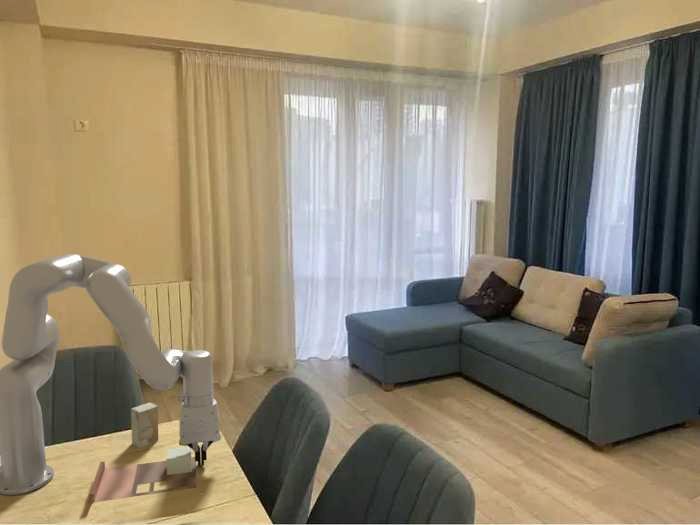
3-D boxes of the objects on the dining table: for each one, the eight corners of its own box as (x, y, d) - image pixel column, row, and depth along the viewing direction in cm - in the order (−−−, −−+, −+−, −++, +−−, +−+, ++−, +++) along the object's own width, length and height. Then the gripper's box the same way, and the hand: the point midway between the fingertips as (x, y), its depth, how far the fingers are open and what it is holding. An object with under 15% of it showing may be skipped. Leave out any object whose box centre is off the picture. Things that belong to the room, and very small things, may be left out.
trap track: (90, 508, 122) (89, 494, 122) (101, 474, 136) (100, 462, 136) (196, 492, 129) (195, 479, 128) (195, 461, 143) (195, 450, 143)
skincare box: (139, 453, 147) (137, 412, 145) (131, 448, 150) (129, 408, 148) (160, 444, 152) (158, 405, 150) (151, 440, 155) (150, 401, 153)
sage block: (167, 475, 134) (166, 459, 133) (168, 465, 138) (167, 449, 138) (191, 471, 135) (190, 455, 135) (191, 462, 140) (190, 446, 139)
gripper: (168, 407, 130) (170, 474, 133) (228, 400, 134) (230, 466, 137) (169, 395, 137) (172, 459, 140) (227, 389, 141) (228, 452, 144)
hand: (201, 462), depth 138 cm, fingers closed
